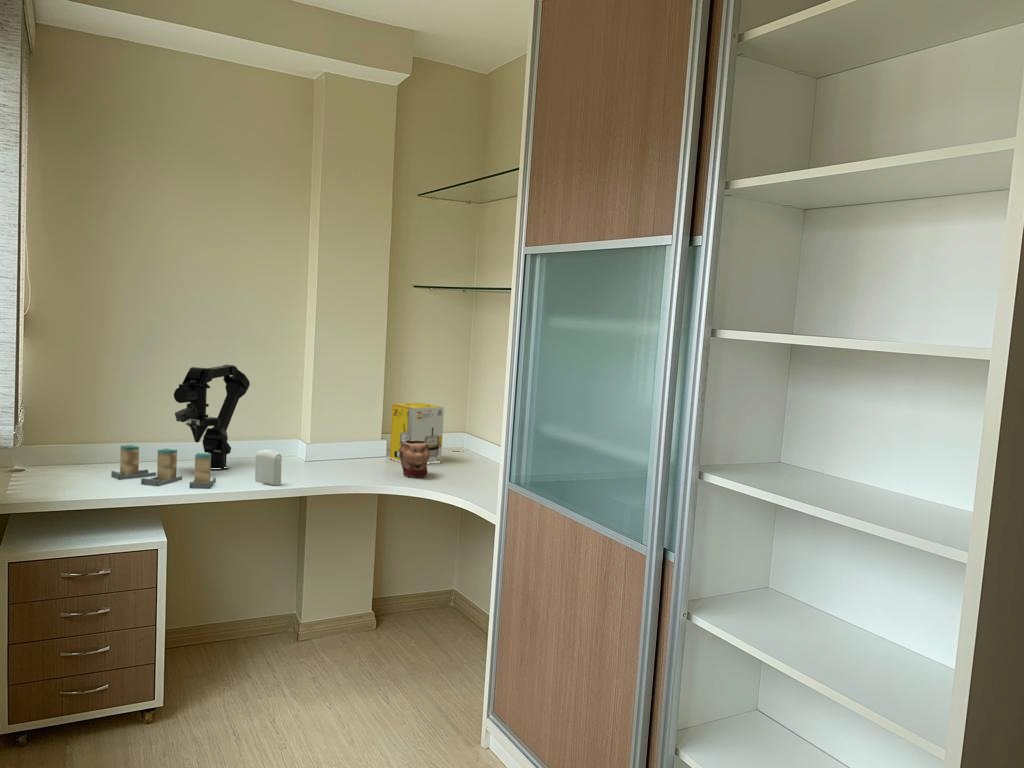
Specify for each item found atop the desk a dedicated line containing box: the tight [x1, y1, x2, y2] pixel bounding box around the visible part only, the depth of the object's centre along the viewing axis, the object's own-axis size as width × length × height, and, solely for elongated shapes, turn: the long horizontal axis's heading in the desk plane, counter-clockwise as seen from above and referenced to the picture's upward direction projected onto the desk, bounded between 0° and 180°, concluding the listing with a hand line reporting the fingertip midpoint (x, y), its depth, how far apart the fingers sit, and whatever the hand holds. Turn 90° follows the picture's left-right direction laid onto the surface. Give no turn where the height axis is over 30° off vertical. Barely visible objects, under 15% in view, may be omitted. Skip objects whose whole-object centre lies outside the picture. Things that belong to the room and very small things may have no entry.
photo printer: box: [254, 449, 283, 486], centre depth 298 cm, size 10×4×12 cm, turn 63°
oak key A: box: [119, 444, 140, 476], centre depth 293 cm, size 4×4×11 cm
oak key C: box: [193, 452, 212, 482], centre depth 286 cm, size 4×4×11 cm
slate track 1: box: [111, 469, 157, 481], centre depth 295 cm, size 13×7×2 cm, turn 140°
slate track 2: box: [140, 475, 183, 487], centre depth 288 cm, size 13×7×2 cm, turn 166°
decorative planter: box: [399, 441, 430, 478], centre depth 330 cm, size 20×12×14 cm, turn 24°
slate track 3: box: [189, 477, 217, 490], centre depth 288 cm, size 13×7×2 cm, turn 12°
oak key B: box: [156, 448, 178, 481], centre depth 291 cm, size 4×4×11 cm
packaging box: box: [389, 402, 445, 462], centre depth 360 cm, size 16×16×25 cm
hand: (196, 442), depth 307 cm, fingers closed
